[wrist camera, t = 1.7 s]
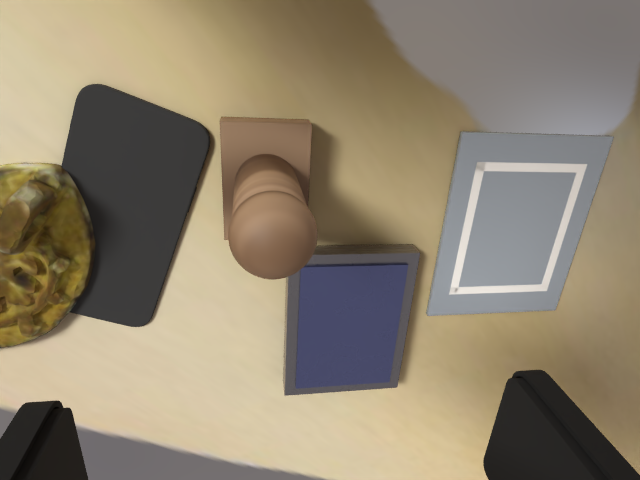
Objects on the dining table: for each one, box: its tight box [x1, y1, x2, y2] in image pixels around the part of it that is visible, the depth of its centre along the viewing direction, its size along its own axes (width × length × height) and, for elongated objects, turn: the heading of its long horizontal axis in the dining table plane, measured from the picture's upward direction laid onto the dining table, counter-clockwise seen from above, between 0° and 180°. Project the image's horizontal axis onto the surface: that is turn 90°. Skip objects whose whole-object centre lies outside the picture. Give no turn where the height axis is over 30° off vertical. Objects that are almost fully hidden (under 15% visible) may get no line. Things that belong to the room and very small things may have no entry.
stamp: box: [220, 117, 317, 279], centre depth 22 cm, size 7×5×11 cm
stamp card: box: [426, 131, 614, 316], centre depth 31 cm, size 14×11×1 cm
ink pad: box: [283, 244, 420, 395], centre depth 32 cm, size 12×9×2 cm
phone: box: [62, 84, 210, 327], centre depth 27 cm, size 7×1×15 cm
